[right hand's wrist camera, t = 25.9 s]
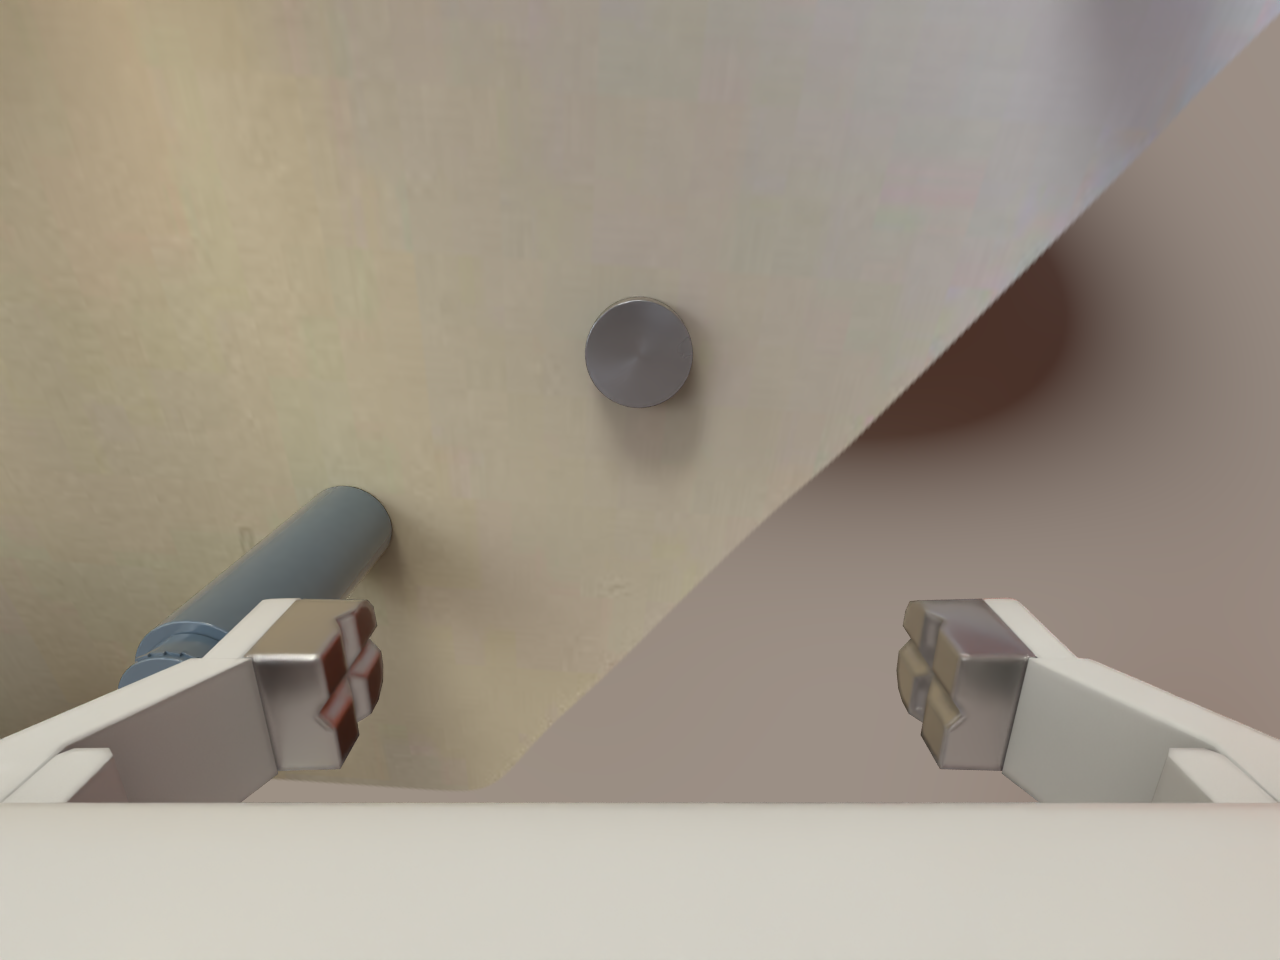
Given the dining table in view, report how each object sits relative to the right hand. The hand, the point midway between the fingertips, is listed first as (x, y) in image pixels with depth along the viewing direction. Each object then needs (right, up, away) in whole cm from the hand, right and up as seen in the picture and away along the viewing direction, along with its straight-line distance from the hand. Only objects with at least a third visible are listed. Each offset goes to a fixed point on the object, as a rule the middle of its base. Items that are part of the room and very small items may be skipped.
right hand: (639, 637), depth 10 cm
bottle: (-17, 0, +29) cm, 33 cm away
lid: (0, +9, +24) cm, 26 cm away
